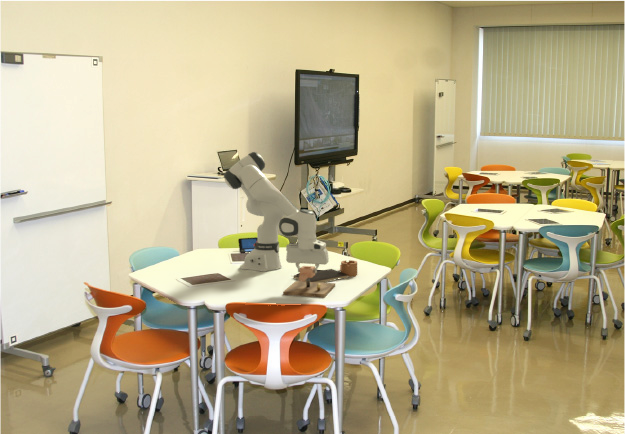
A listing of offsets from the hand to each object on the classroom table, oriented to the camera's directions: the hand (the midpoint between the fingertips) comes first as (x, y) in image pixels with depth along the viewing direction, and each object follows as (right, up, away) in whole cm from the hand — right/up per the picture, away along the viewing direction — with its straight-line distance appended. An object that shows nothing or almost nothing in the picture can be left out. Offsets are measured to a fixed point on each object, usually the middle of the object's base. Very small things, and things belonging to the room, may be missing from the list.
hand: (307, 272), depth 336 cm
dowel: (+5, -8, -5) cm, 11 cm away
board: (+1, -9, 0) cm, 9 cm away
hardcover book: (+7, -6, +23) cm, 25 cm away
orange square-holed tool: (-1, -2, -3) cm, 4 cm away
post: (0, -7, +1) cm, 7 cm away
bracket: (+21, -3, +34) cm, 40 cm away
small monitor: (-35, +5, +91) cm, 98 cm away
